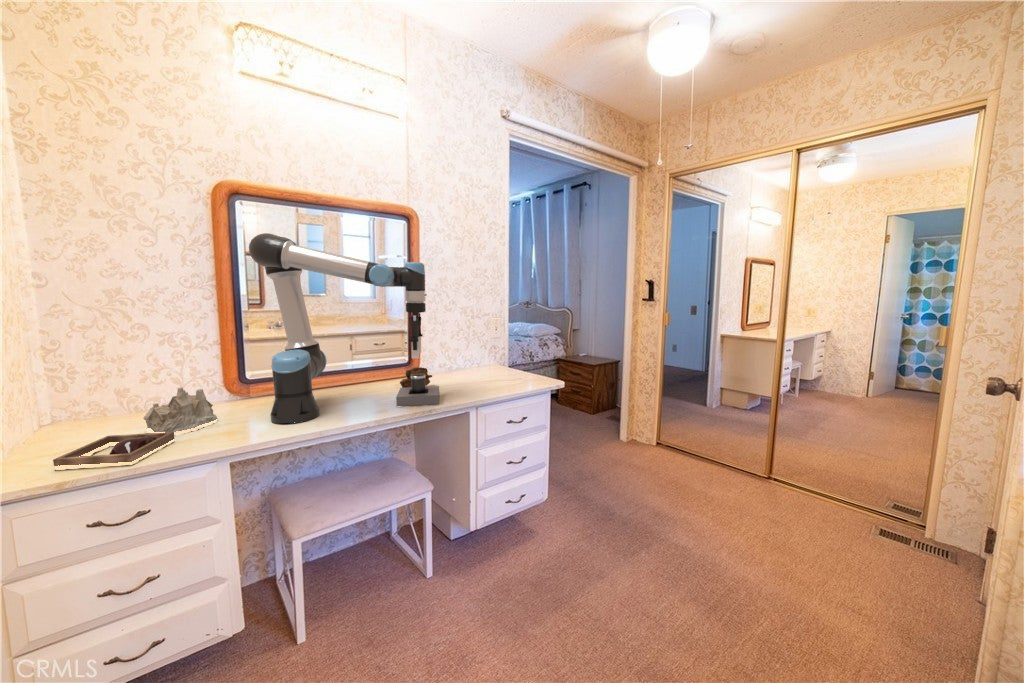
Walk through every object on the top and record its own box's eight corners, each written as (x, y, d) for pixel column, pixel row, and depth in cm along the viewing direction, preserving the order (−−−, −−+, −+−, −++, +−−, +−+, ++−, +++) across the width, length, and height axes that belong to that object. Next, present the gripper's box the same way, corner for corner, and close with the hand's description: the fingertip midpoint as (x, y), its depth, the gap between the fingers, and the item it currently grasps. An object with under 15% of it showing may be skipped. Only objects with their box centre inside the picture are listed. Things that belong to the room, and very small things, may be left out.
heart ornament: (118, 475, 100) (96, 448, 103) (169, 462, 112) (148, 439, 114) (130, 456, 100) (107, 429, 102) (180, 445, 111) (158, 422, 113)
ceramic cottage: (226, 420, 133) (217, 378, 131) (174, 440, 118) (164, 393, 115) (192, 419, 138) (183, 378, 135) (138, 438, 122) (127, 392, 120)
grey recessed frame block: (396, 407, 148) (396, 397, 148) (400, 397, 162) (400, 387, 162) (438, 404, 151) (438, 395, 150) (439, 395, 165) (439, 386, 164)
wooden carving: (405, 394, 167) (404, 371, 166) (399, 392, 170) (398, 370, 168) (434, 386, 180) (434, 365, 178) (428, 384, 183) (427, 364, 181)
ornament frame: (54, 470, 97) (52, 459, 96) (109, 445, 112) (107, 435, 112) (132, 465, 100) (130, 454, 99) (174, 441, 115) (173, 432, 115)
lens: (411, 401, 153) (410, 376, 152) (412, 397, 159) (411, 373, 157) (425, 400, 154) (425, 376, 153) (426, 396, 160) (425, 373, 158)
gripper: (423, 303, 139) (424, 360, 142) (426, 301, 164) (427, 350, 167) (402, 303, 138) (403, 361, 141) (408, 301, 163) (409, 350, 165)
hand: (416, 355), depth 154 cm, fingers open, 13 cm apart
